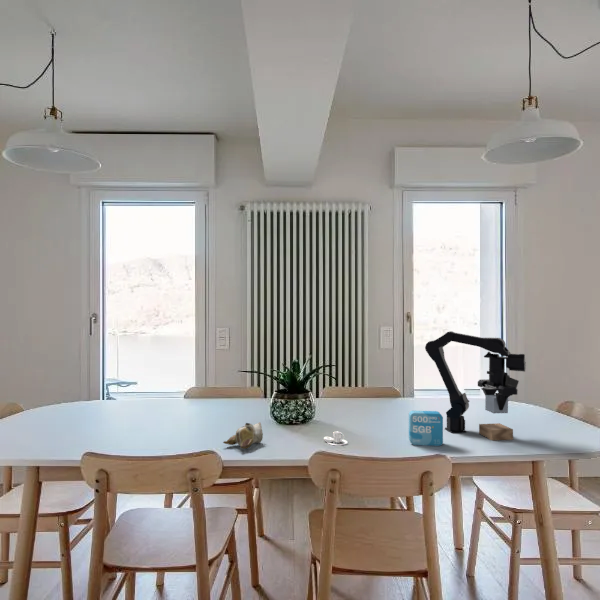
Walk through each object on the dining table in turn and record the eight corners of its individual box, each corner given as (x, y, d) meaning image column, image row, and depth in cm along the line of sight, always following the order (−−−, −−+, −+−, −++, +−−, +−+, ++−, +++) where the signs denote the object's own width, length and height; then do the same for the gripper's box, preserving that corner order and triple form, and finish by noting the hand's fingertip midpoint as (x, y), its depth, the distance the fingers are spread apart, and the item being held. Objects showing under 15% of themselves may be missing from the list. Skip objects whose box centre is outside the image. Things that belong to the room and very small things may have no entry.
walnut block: (491, 440, 174) (491, 430, 174) (479, 433, 183) (479, 424, 183) (513, 439, 175) (512, 429, 175) (499, 433, 184) (499, 423, 184)
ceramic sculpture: (270, 420, 168) (241, 431, 157) (271, 443, 168) (242, 455, 157) (250, 416, 175) (221, 426, 163) (251, 438, 175) (222, 449, 163)
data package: (410, 445, 168) (410, 412, 168) (408, 441, 172) (408, 410, 172) (443, 446, 166) (443, 413, 166) (440, 442, 171) (440, 411, 171)
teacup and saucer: (320, 442, 171) (320, 431, 171) (334, 438, 177) (334, 428, 177) (338, 447, 165) (338, 436, 165) (351, 443, 171) (351, 432, 171)
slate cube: (493, 413, 175) (494, 398, 176) (485, 409, 181) (485, 395, 181) (507, 413, 176) (508, 397, 176) (498, 409, 182) (499, 394, 182)
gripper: (530, 372, 171) (530, 413, 171) (501, 366, 189) (501, 402, 189) (503, 373, 169) (503, 414, 169) (477, 366, 188) (476, 403, 188)
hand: (496, 408), depth 179 cm, fingers closed on slate cube, 6 cm apart
